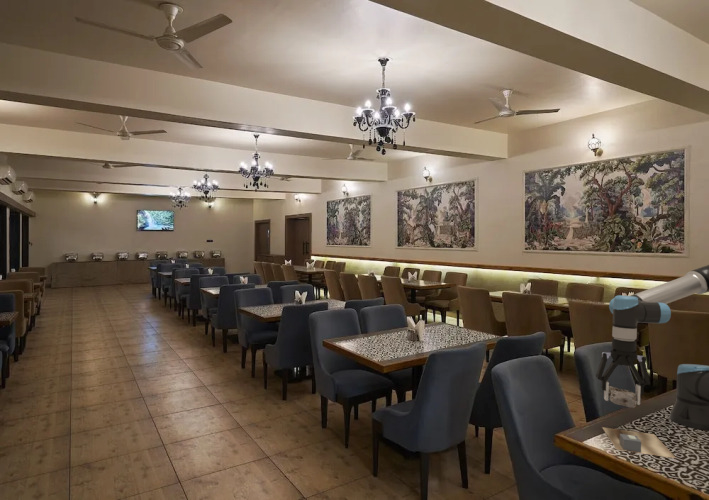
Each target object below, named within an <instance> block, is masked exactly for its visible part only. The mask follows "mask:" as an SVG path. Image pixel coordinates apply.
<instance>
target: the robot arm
mask: <svg viewBox="0 0 709 500" xmlns="http://www.w3.org/2000/svg"><path fill="white" fill-rule="evenodd" d="M705 293H709V264H707V265H704V266H701V267H698V268H695V269H693V270H690V271H687V272H686V273H685V275H683V276H681V277H678V278H676V279H673V280H670V281H667V282H664V283H662V284H659V285H656V286H653V287H651V288H648V289H645V290H644V291H639V292H636V293H635V294H632V295H616V296H614V297H613V298H612V299H611V300H610V301H609V304H608V309H609V311H610V313H611V314H612V332H611V333H612V334H611V336H612V339H611V350H610V351H609V352H605V351H602V352H601V358H600V363H599V366H598V369H597V371H596V375H595V377H596V379H597V380H599V381H601V384H600V385H601V386H600V387H601V390H602V391H603V399H604V400H605V401H606V402H609V397H608V393H609V386H610V383H609V381H608V380H609V379H610V377H611V375H612V374H613V373H614V371H615V369H617V368H618V366H627V367H629V368H630V370H631V372H632V374H633V376H634V377H635V379H636V381H637V383H636V384H635V392H634V393H635V394H636V401H637V404H636V405H638V406H640V405H641V396H643V395H644V393H645V391H644V388H645V387H646V386H650V385H651V381H650V377H649V373H648V368H647V364H646V362H647V357H646V356H645V355H638V354H637V341H636V340H637V338H638V337H637V336H638V335H637V334H638V324H644V323H645V324H655V325H656V324H657V325H659V324H666V323H668V322H669V321H670V319H671V316H672V312H671V308H670V306H669V305H668V304H670V303H672V302H676V301H678V300H681V299H684V298H686V297H689V296H691V295H695V294H696V295H703V294H705ZM610 357H611V359H612V361H611V362H610V364H609V366H608V367H607V369H606V370H605V368H606V366H607V362H608V360H609V358H610ZM636 360H637V361H638V362H639V366H640V370H641V375H642V377H641V375H640V373H639V372H638V369H637V366H636V365H635V363H634V362H635V361H636ZM604 370H605V372H604ZM642 378H643V379H642ZM675 396H676V397H675V402H674V404H673V406H672V409H671V411H670V415H669V416H670V420H671V421H673V422H675V423H677V424H679V425H682V426H685V427H688V428H692V429H698V430H702V431H703V430H706V431H709V365H705V364H692V363H682V364H679V365H678V366H677V372H676V395H675Z"/></svg>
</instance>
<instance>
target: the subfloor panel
mask: <svg viewBox="0 0 709 500" xmlns="http://www.w3.org/2000/svg"><path fill="white" fill-rule="evenodd" d="M601 429H603V432H605V435H606V436H607V438H608V439H609V440H610V441H611V443H612V445H613V446H614V448H615V449H616V451H624V452H630V453H636V454H637V453H638V454H645V455H652V456H657V457H663V458H664V457H665V458H670V459H671V458H673V459H677V457H676V455H674V454H673V453H672V452H671V450H669V449H668V447H667V446H666V445H665V444H664V443H663V442H662V440H660V439H659V438H658V437H657V435H655V434H654V433H649V432H648V433H647V432H640V431H634V430H627V429H626V430H625V429H617V428H611V427H603V426H602V427H601ZM620 434H626V435H633V436H637V437H638V438H639V440H640V441H641V452H634V451H627V450H623V448H622V447H621V445H620V444H619V441H620Z"/></svg>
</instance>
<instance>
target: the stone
mask: <svg viewBox="0 0 709 500" xmlns="http://www.w3.org/2000/svg"><path fill="white" fill-rule="evenodd" d="M608 399H609V401H610V402H612V403H613V404H615V405H619V406H623V407H628V408H636V407H637V405H638V404H637V401H636V394H635V392H633V391H632V390H628V389H624V388H623V389H622V388H618V387H616V386H615V387H614V386H611V385H609V393H608Z"/></svg>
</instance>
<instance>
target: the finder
mask: <svg viewBox="0 0 709 500" xmlns="http://www.w3.org/2000/svg"><path fill="white" fill-rule="evenodd" d="M619 444H620V445H621V447H622V448H623V450H627V451H626V452H629V451H634V452H633V453H636V452H641V441H640V440H639V438H638V437H637V436H633V435H626V434H620V441H619Z"/></svg>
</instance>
